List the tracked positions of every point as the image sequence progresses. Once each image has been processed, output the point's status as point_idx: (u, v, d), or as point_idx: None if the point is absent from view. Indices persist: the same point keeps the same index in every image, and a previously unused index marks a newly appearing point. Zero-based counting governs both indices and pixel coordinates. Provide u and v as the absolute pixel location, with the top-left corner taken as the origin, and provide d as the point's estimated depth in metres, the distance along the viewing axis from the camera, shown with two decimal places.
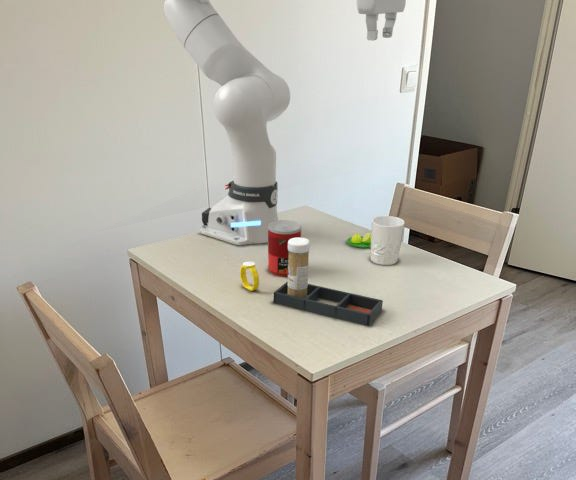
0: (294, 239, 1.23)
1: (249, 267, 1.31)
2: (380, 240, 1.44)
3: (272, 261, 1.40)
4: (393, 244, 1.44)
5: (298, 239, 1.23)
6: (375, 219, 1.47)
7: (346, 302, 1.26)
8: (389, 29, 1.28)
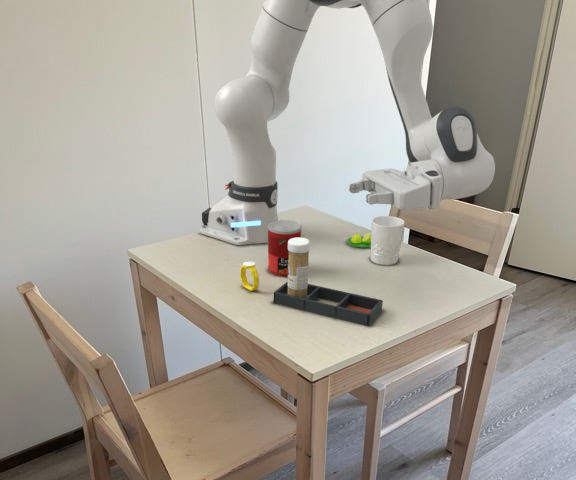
0: (294, 239, 1.23)
1: (249, 267, 1.31)
2: (380, 240, 1.44)
3: (272, 261, 1.40)
4: (393, 244, 1.44)
5: (298, 239, 1.23)
6: (375, 219, 1.47)
7: (346, 302, 1.26)
8: (358, 191, 1.26)
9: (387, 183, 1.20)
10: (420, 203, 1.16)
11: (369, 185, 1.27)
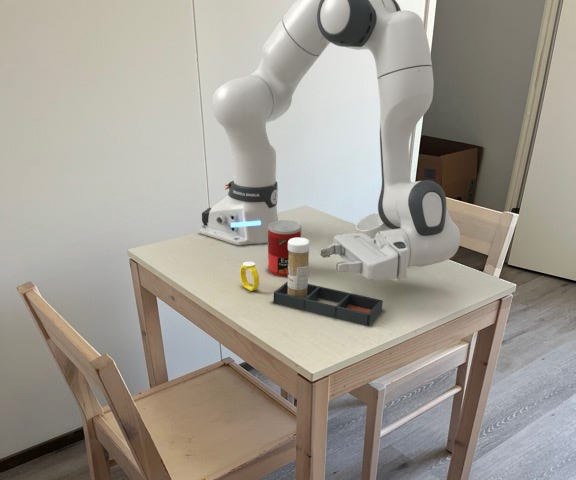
0: (294, 239, 1.23)
1: (249, 267, 1.31)
2: None
3: (272, 261, 1.40)
4: None
5: (298, 239, 1.23)
6: (361, 220, 1.46)
7: (346, 302, 1.26)
8: (329, 256, 1.30)
9: (357, 251, 1.25)
10: (388, 274, 1.21)
11: (340, 250, 1.32)
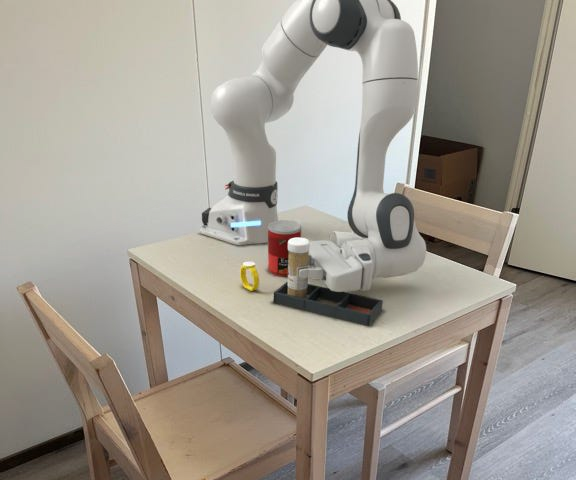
0: (294, 239, 1.23)
1: (249, 267, 1.31)
2: None
3: (272, 261, 1.40)
4: None
5: (298, 239, 1.23)
6: None
7: (346, 302, 1.26)
8: None
9: (322, 261, 1.25)
10: (351, 285, 1.21)
11: (309, 260, 1.30)
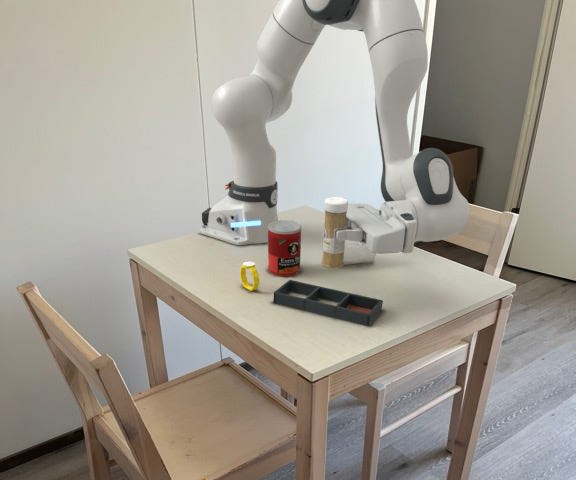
0: (331, 198, 1.15)
1: (249, 267, 1.31)
2: (349, 263, 1.46)
3: (272, 261, 1.40)
4: (355, 254, 1.43)
5: (336, 199, 1.15)
6: None
7: (346, 302, 1.26)
8: None
9: (361, 222, 1.16)
10: (394, 247, 1.13)
11: None
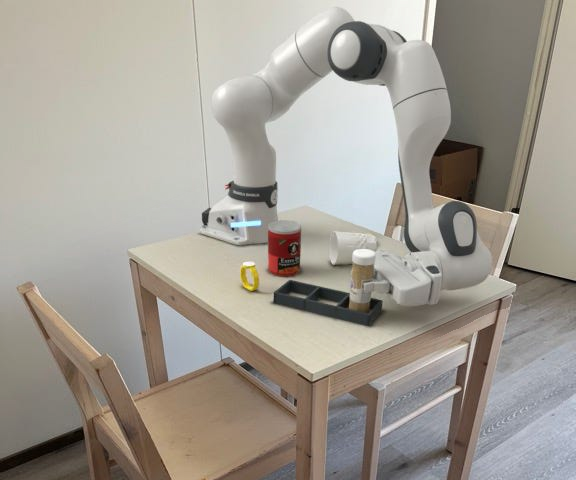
0: (359, 251, 1.18)
1: (249, 267, 1.31)
2: (349, 263, 1.46)
3: (272, 261, 1.40)
4: None
5: (364, 251, 1.18)
6: (330, 250, 1.49)
7: (346, 302, 1.26)
8: None
9: (387, 273, 1.19)
10: (420, 300, 1.16)
11: None
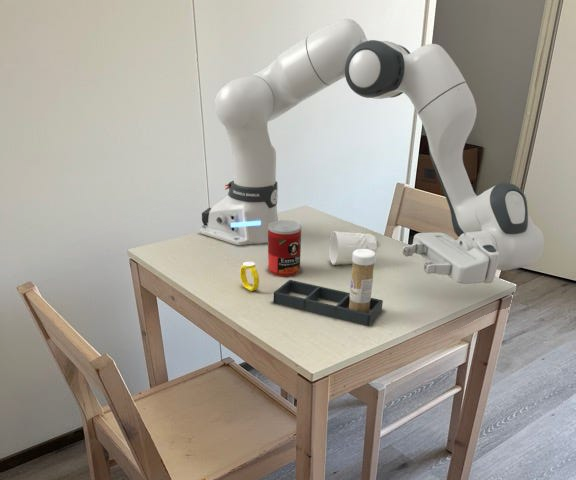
0: (359, 250, 1.18)
1: (249, 267, 1.31)
2: (349, 263, 1.46)
3: (272, 261, 1.40)
4: None
5: (364, 251, 1.18)
6: (330, 250, 1.49)
7: (346, 302, 1.26)
8: (411, 255, 1.27)
9: (444, 252, 1.22)
10: (478, 278, 1.18)
11: (421, 249, 1.28)
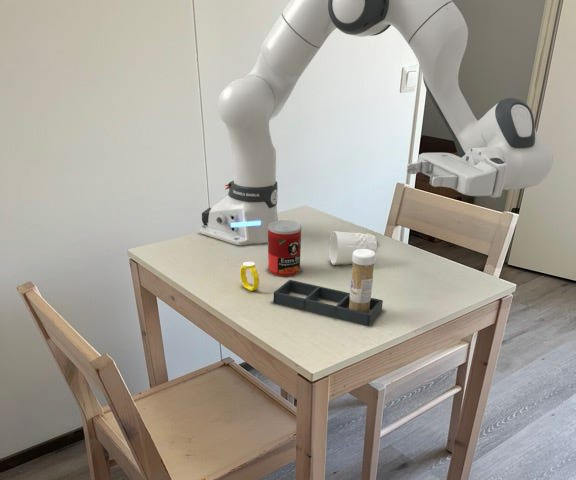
0: (359, 250, 1.18)
1: (249, 267, 1.31)
2: (349, 263, 1.46)
3: (272, 261, 1.40)
4: None
5: (364, 251, 1.18)
6: (330, 250, 1.49)
7: (346, 302, 1.26)
8: (416, 172, 1.23)
9: (450, 166, 1.18)
10: (485, 189, 1.15)
11: (426, 167, 1.25)
